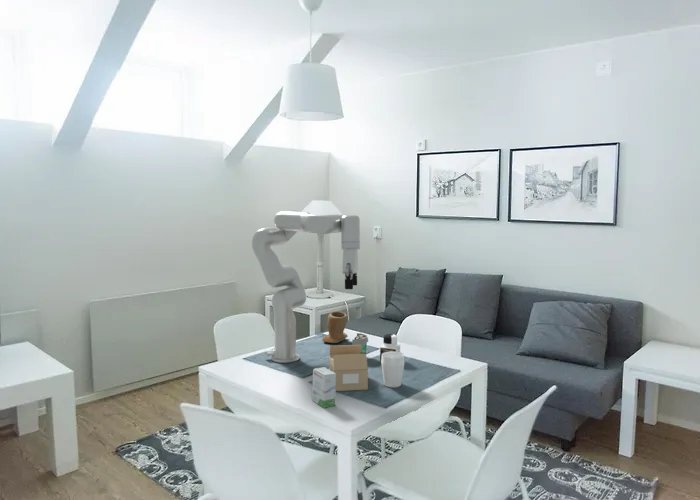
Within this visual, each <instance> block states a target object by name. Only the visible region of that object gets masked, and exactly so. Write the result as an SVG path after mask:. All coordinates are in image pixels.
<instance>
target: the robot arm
mask: <svg viewBox="0 0 700 500" xmlns="http://www.w3.org/2000/svg"><path fill="white" fill-rule="evenodd" d="M273 222H274V225H275V226H272V227H270V226H269V227H263V228H260V229H257V230H256V231H255V233H253V236H252V239H251V248H252V251H253V252H254V255H255V257H256V259H257V260H258V263H259V265H260V268H261V270H262V273H263V275H264V277H265V278H264V279H265V280H266V282H267V285H268V286H269V287H270V288H272V289H279V288H283V289H279V290H277V291H276V292H275V293H274V294H273V296H272V297H271V304H272V305H271V306H272V311H273V321H274V322H273V323H274V347H273V349H271V350H269V349H267V350H264V355H266V356H267V357H268V356H271V358H270V359H271V360H272V361H273V362H275V363H280V364H281V363H282V364H287V363H289V364H290V363H295V362H297V361H298V360H299V359H300V354H298V353H297V322H296V319H297V318H296V315H295V313H294V311H293V310H294V309H296V308H300V307H302V306H304V305H305V303H306V301H307V292H306V290H305V287H304V286H303V283H302V280H301V278H300V275H299V273H298V272H297V270H296V269H295V268H294V266H292V265H289V264H284V265H282V264H281V262H280V260H279V257H278V255H277V254H276V252H275V251H274V250H273V249H272V248H271V247H276V246H281V245H285V244H286V243H288V242H289V241H290V240H291V239H292V238H293V237H294V235H296V234H297V233H298V232H302V233H311V234H320V235H321V234H322V235H323V234H325V235H328V234H329V235H330V234H338V233H339V234H340V237H341V238H340V239H341V240H340V241H341V247H340V248H341V250H342V251H343V252H342V265H341V266H342V268H341V269H342V272H341V273H342V274H343V275H344V289H345V290H353V289H354V286H357V285H358V276H357V275H358V273H357V272H358V269H359V266H358V265H359V257H358V255H359V254H358V250H360V249H361V241H360V240H361V234H360V233H361V232H360V229H361V228H360V226H361V225H360V224H361V223H360V217H359V216H358V215H354V214H353V215H352V214H349V215H348V214H347V215H343V214H325V215H324V214H323V215H322V214H311V213H310V212H307V211H298V210H282V211H279V212H277V213H276V214H275V216H274V219H273Z"/></svg>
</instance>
